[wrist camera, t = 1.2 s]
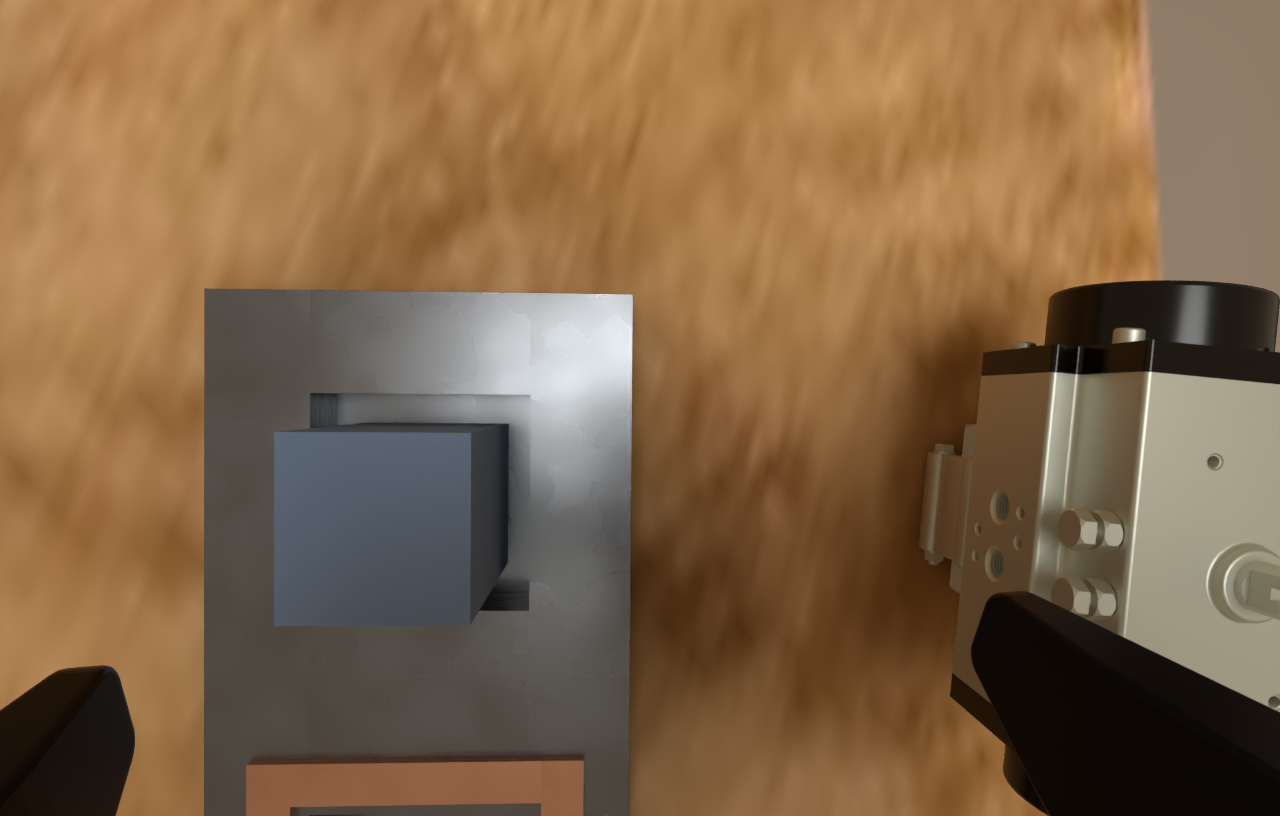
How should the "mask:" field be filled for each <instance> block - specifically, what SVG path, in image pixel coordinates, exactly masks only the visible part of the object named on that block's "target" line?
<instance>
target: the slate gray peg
mask: <svg viewBox="0 0 1280 816" xmlns="http://www.w3.org/2000/svg"><path fill="white" fill-rule="evenodd" d="M508 475H509V423H358V424H348V425H338V426H328V427H318V428H308V429H298V430H288V431H278V432H274V626H424V625H471V623H472V621H473V620H474V618H475V616H476V615H477V613H478V611H479V610H480V608H481V607H482V605H483V603H484V602H485V600H486V598H487V597H488V595H489V593H490V592H491V590H492V588H493V587H494V585H495V583H496V582H497V580H498V578H499V577H500V575H501V573H502V572H503V570H504V569H505V567H506V565H507V564H508Z"/></svg>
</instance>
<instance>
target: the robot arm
mask: <svg viewBox="0 0 1280 816" xmlns="http://www.w3.org/2000/svg"><path fill="white" fill-rule="evenodd" d="M971 661H972V664H973V668H974V670H975V672H976V674H977V676H978V678H979V680H980V682H981V684H982V686H983V688H984V690H985V692H986V694H987V696H988V698H989V700H990V702H991V704H992V706H993V708H994V710H995V712H996V714H997V716H998V718H999V720H1000V722H1001V724H1002V726H1003V728H1004V730H1005V732H1006V734H1007V736H1008V738H1009V740H1010V742H1011V744H1012V746H1013V748H1014V750H1015V752H1016V754H1017V756H1018V758H1019V760H1020V762H1021V764H1022V766H1023V768H1024V770H1025V772H1026V774H1027V776H1028V778H1029V780H1030V781H1031V783H1032V785H1033V787H1034V789H1035V791H1036V793H1037V795H1038V796H1039V798H1040V800H1041V801H1042V803H1043V805H1044V807H1045V808H1046V810H1047V812H1048V813H1049V815H1050V816H1280V712H1278V711H1276V710H1274V709H1272V708H1270V707H1268V706H1266V705H1264V704H1262V703H1260V702H1257V701H1255V700H1253V699H1251V698H1249V697H1247V696H1245V695H1243V694H1241V693H1239V692H1237V691H1235V690H1233V689H1230V688H1228V687H1226V686H1224V685H1222V684H1220V683H1218V682H1216V681H1214V680H1212V679H1210V678H1208V677H1206V676H1203V675H1201V674H1199V673H1197V672H1195V671H1193V670H1191V669H1189V668H1187V667H1185V666H1183V665H1181V664H1179V663H1176V662H1174V661H1172V660H1170V659H1168V658H1166V657H1164V656H1162V655H1160V654H1158V653H1156V652H1154V651H1152V650H1149V649H1147V648H1145V647H1143V646H1141V645H1139V644H1137V643H1135V642H1133V641H1131V640H1129V639H1127V638H1124V637H1122V636H1120V635H1118V634H1116V633H1114V632H1112V631H1110V630H1108V629H1106V628H1104V627H1102V626H1100V625H1097V624H1095V623H1093V622H1091V621H1089V620H1087V619H1085V618H1083V617H1081V616H1079V615H1077V614H1075V613H1073V612H1070V611H1068V610H1066V609H1064V608H1062V607H1060V606H1058V605H1056V604H1054V603H1052V602H1050V601H1048V600H1046V599H1043V598H1041V597H1039V596H1037V595H1035V594H1033V593H1031V592H1027V591H1011V592H999V593H995V594H993V595H991V596H990V597H989V599H988V600H987V601H986V604H985V606H984V609H983V612H982V615H981V618H980V621H979V624H978V627H977V630H976V633H975V636H974V639H973V642H972V645H971ZM134 747H135V732H134V727H133V724H132V720H131V716H130V713H129V709H128V706H127V702H126V699H125V695H124V692H123V688H122V685H121V681H120V678H119V676H118V673H117V672H116V671H115V670H114V668H112V667H109V666H104V665H102V666H89V667H77V668H67V669H62V670H59V671H56V672H55V673H53V674H51V675H50V676H48V677H47V678H45V679H44V680H42V681H41V682H40V683H38V684H37V685H35V686H34V687H32V688H31V689H30V690H28V691H27V692H25V693H24V694H23V695H21V696H20V697H18V698H17V699H16V700H14V701H13V702H11V703H10V704H9V705H7V706H6V707H4V708H3V709H2V710H0V816H116V813H117V809H118V806H119V803H120V799H121V796H122V792H123V789H124V786H125V782H126V779H127V775H128V772H129V769H130V765H131V762H132V758H133V754H134Z"/></svg>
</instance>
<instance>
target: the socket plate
mask: <svg viewBox="0 0 1280 816" xmlns="http://www.w3.org/2000/svg"><path fill="white" fill-rule="evenodd" d="M632 309H633V295H623V294H552V293H480V292H408V291H337V290H265V289H205V388H204V816H629V697H630V567H631V438H632ZM358 423H509V475H508V564H507V565H506V567H505V569H504V570H503V572H502V573H501V575H500V577H499V578H498V580H497V582H496V583H495V585H494V587H493V588H492V590H491V592H490V593H489V595H488V597H487V598H486V600H485V602H484V603H483V605H482V607H481V608H480V610H479V611H478V613H477V615H476V616H475V618H474V620H473V621H472V623H471V625H424V626H274V432H278V431H288V430H298V429H308V428H318V427H328V426H338V425H348V424H358Z"/></svg>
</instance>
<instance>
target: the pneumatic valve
mask: <svg viewBox="0 0 1280 816" xmlns="http://www.w3.org/2000/svg"><path fill="white" fill-rule="evenodd" d="M1279 305H1280V298H1279V296H1278V295H1277V294H1276V293H1274V292H1272V291H1269V290H1266V289H1263V288H1258V287H1254V286H1248V285H1241V284H1232V283H1222V282H1206V281H1171V280H1166V281H1127V282H1112V283H1101V284H1092V285H1084V286H1078V287H1073V288H1068V289H1065V290H1061V291H1058V292H1056V293H1054V294H1053V295H1052V296H1051V297H1050V298H1049V305H1048V315H1047V325H1046V335H1045V345H1044V346H1036V344H1035V343H1031V342H1014V343H1012V349H1010V350H1002V351H994V352H985V353H983V363H982V373H981V383H980V394H979V404H978V414H977V424H966V425H965V430H964V440H963V450H962V455H956V452H954V445H948V444H938V443H936V444H935V450H933V453H931V452H928V454H927V464H926V475H925V485H924V495H923V505H922V516H921V526H920V536H919V547H920V548H923V550H924V551H925V555H924V559H925V560H928V564H930V565H939V562H943V558H944V557H945V558H948V559H951V560H952V563H951V573H950V584H949V586H950V588H951V589H952V590H953V591H955V592H957V593H960V599H959V609H958V619H957V630H956V640H955V650H954V660H953V671H952V681H951V691H950V696H951V697H952V698H953V699H954V700H955V701H956V702H957V703H959V704H960V705H961V706H962V707H963V708H964V709H965V710H967V711H968V712H969V713H970V714H971V715H972V716H974V717H975V718H976V719H977V720H978V721H979V722H980V723H982V724H983V725H984V726H985V727H986V728H987V729H988V730H990V731H991V732H992V733H993V734H994V735H995V736H997V737H998V738H999V739H1000V740H1001V741H1002V742H1003V743H1005V753H1004V763H1003V772H1004V776H1005V778H1006V780H1007V782H1008V783H1009V785H1010V786H1011V787H1012V788H1013V789H1014V791H1015V792H1016V793H1017V794H1018V795H1020V796H1021V797H1022V798H1023V799H1024V800H1026V801H1027V802H1028V803H1030V804H1031V805H1032V806H1034V807H1035V808H1037V809H1038V810H1040V811H1041V812H1043V813H1045V814H1047V815H1048V816H1050V815H1049V813H1048V812H1047V810H1046V808H1045V807H1044V805H1043V803H1042V801H1041V800H1040V798H1039V796H1038V795H1037V793H1036V791H1035V789H1034V787H1033V785H1032V783H1031V781H1030V780H1029V778H1028V776H1027V774H1026V772H1025V770H1024V768H1023V766H1022V764H1021V762H1020V760H1019V758H1018V756H1017V754H1016V752H1015V750H1014V748H1013V746H1012V744H1011V742H1010V740H1009V738H1008V736H1007V734H1006V732H1005V730H1004V728H1003V726H1002V724H1001V722H1000V720H999V718H998V716H997V714H996V712H995V710H994V708H993V706H992V704H991V702H990V700H989V698H988V696H987V694H986V692H985V690H984V688H983V686H982V684H981V682H980V680H979V678H978V676H977V674H976V672H975V670H974V668H973V664H972V661H971V645H972V642H973V639H974V636H975V633H976V630H977V627H978V624H979V621H980V618H981V615H982V612H983V609H984V606H985V604H986V601H987V600H988V599H989V597H990V596H991V595H993V594H995V593H999V592H1011V591H1027V592H1031V593H1033V594H1035V595H1037V596H1039V597H1041V598H1043V599H1046V600H1048V601H1050V602H1052V603H1054V604H1056V605H1058V606H1060V607H1062V608H1064V609H1066V610H1068V611H1070V612H1073V613H1075V614H1077V615H1079V616H1081V617H1083V618H1085V619H1087V620H1089V621H1091V622H1093V623H1095V624H1097V625H1100V626H1102V627H1104V628H1106V629H1108V630H1110V631H1112V632H1114V633H1116V634H1118V635H1120V636H1122V637H1124V638H1127V639H1129V640H1131V641H1133V642H1135V643H1137V644H1139V645H1141V646H1143V647H1145V648H1147V649H1149V650H1152V651H1154V652H1156V653H1158V654H1160V655H1162V656H1164V657H1166V658H1168V659H1170V660H1172V661H1174V662H1176V663H1179V664H1181V665H1183V666H1185V667H1187V668H1189V669H1191V670H1193V671H1195V672H1197V673H1199V674H1201V675H1203V676H1206V677H1208V678H1210V679H1212V680H1214V681H1216V682H1218V683H1220V684H1222V685H1224V686H1226V687H1228V688H1230V689H1233V690H1235V691H1237V692H1239V693H1241V694H1243V695H1245V696H1247V697H1249V698H1251V699H1253V700H1255V701H1257V702H1260V703H1262V704H1264V705H1266V706H1268V707H1270V708H1272V709H1274V710H1276V711H1278V712H1280V353H1278V352H1275V345H1276V335H1277V325H1278V314H1279Z"/></svg>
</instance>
